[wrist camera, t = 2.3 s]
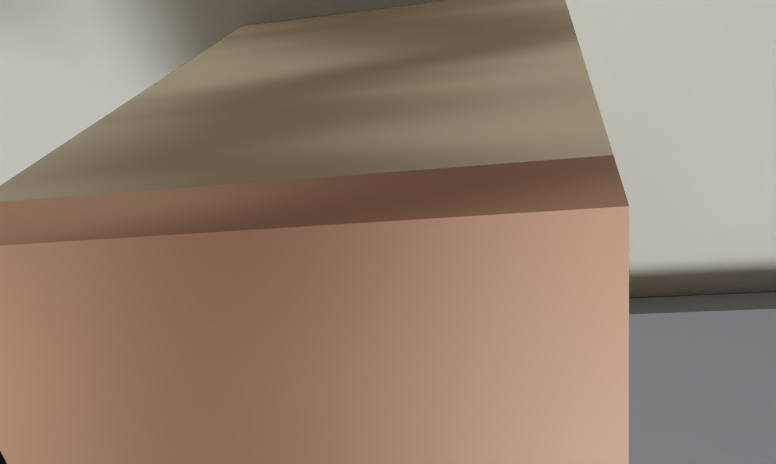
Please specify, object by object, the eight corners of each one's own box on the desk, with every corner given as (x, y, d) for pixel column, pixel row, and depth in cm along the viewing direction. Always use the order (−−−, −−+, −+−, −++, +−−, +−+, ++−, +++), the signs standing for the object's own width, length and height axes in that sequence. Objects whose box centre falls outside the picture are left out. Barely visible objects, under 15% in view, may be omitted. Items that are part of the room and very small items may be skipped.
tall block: (561, -14, 11) (627, 204, 4) (572, 278, 13) (627, 718, 6) (242, 25, 12) (-99, 251, 5) (303, 289, 14) (114, 681, 7)
